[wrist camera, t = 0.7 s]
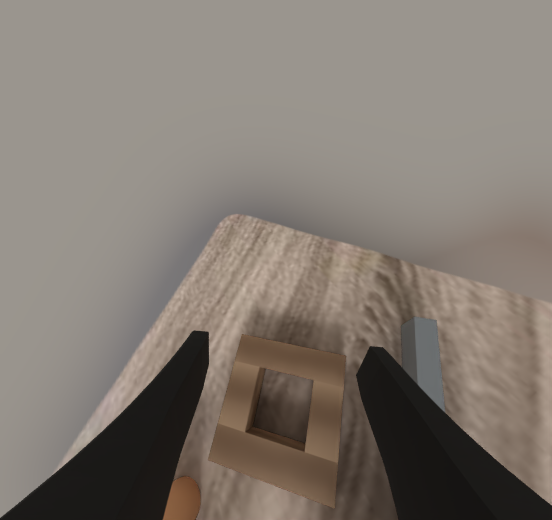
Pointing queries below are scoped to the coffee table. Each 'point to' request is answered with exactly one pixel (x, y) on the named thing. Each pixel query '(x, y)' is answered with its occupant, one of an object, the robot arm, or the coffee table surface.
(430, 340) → the wall
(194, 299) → the coffee table surface
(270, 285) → the coffee table surface
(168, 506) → the dowel
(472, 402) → the coffee table surface
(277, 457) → the brown square frame
